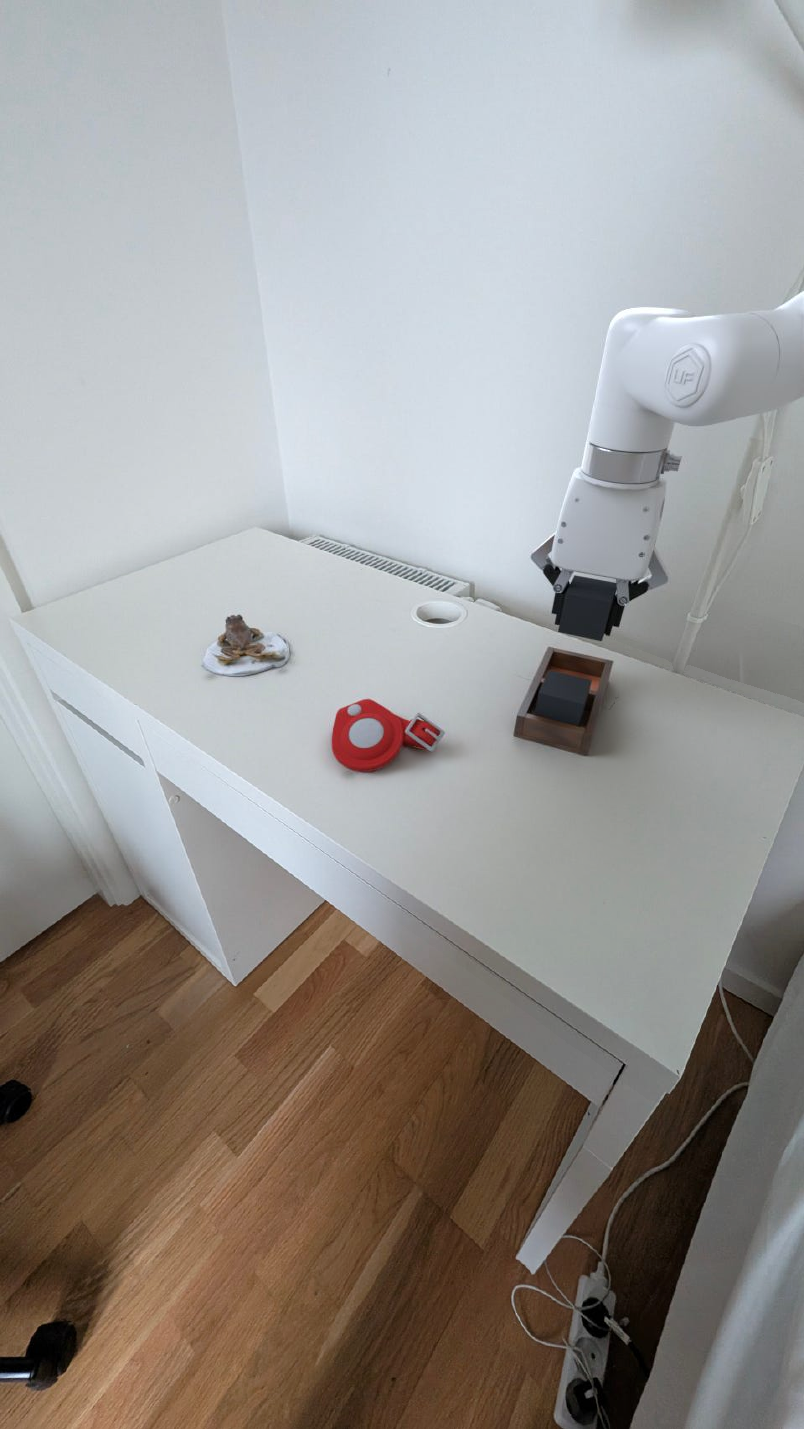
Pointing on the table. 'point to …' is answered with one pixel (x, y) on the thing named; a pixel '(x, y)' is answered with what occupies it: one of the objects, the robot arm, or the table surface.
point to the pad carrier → (554, 730)
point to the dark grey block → (587, 607)
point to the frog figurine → (245, 650)
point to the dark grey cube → (563, 698)
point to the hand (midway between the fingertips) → (584, 623)
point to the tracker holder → (377, 735)
